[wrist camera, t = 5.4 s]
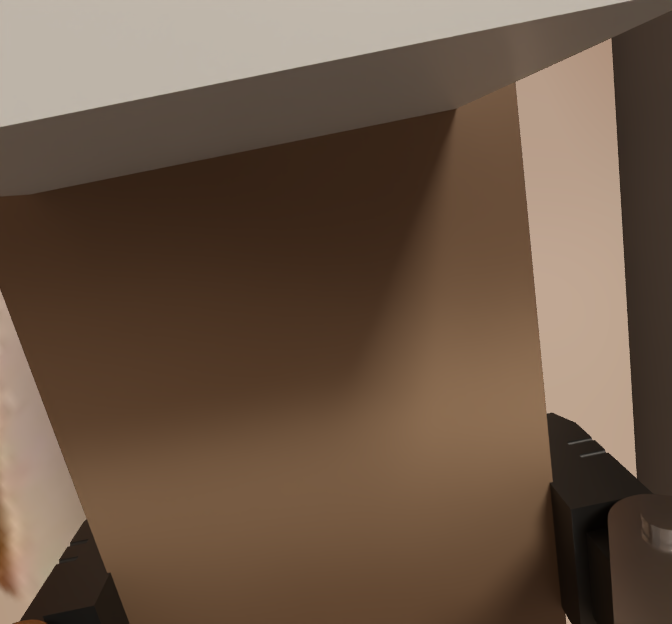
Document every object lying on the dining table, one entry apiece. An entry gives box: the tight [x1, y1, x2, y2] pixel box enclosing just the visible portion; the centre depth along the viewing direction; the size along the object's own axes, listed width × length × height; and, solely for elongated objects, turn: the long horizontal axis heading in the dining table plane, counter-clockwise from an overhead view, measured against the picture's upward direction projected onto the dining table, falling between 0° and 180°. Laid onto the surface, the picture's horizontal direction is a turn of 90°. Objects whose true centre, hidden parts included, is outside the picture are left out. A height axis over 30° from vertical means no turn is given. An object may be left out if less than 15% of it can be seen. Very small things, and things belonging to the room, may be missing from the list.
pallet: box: [0, 82, 566, 624], centre depth 9 cm, size 24×6×4 cm, turn 11°
